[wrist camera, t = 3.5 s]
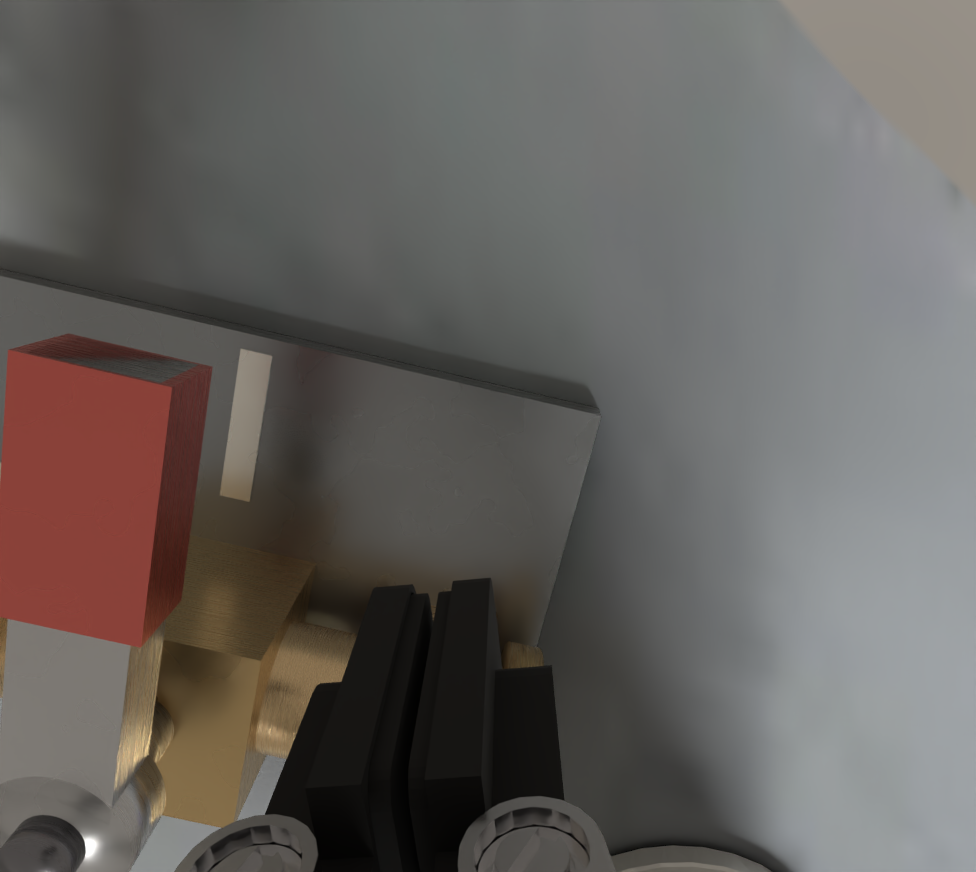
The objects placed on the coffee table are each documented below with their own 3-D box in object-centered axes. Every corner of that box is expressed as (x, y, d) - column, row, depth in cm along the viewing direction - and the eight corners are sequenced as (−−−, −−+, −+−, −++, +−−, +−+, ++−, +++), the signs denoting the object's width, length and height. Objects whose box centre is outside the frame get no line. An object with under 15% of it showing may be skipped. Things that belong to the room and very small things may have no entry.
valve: (598, 408, 26) (645, 514, 17) (500, 758, 29) (495, 999, 20) (-8, 267, 25) (-303, 297, 16) (-27, 644, 29) (-274, 840, 20)
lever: (226, 369, 16) (172, 399, 14) (158, 857, 20) (105, 955, 17) (54, 329, 16) (-36, 352, 13) (16, 827, 20) (-60, 922, 17)
